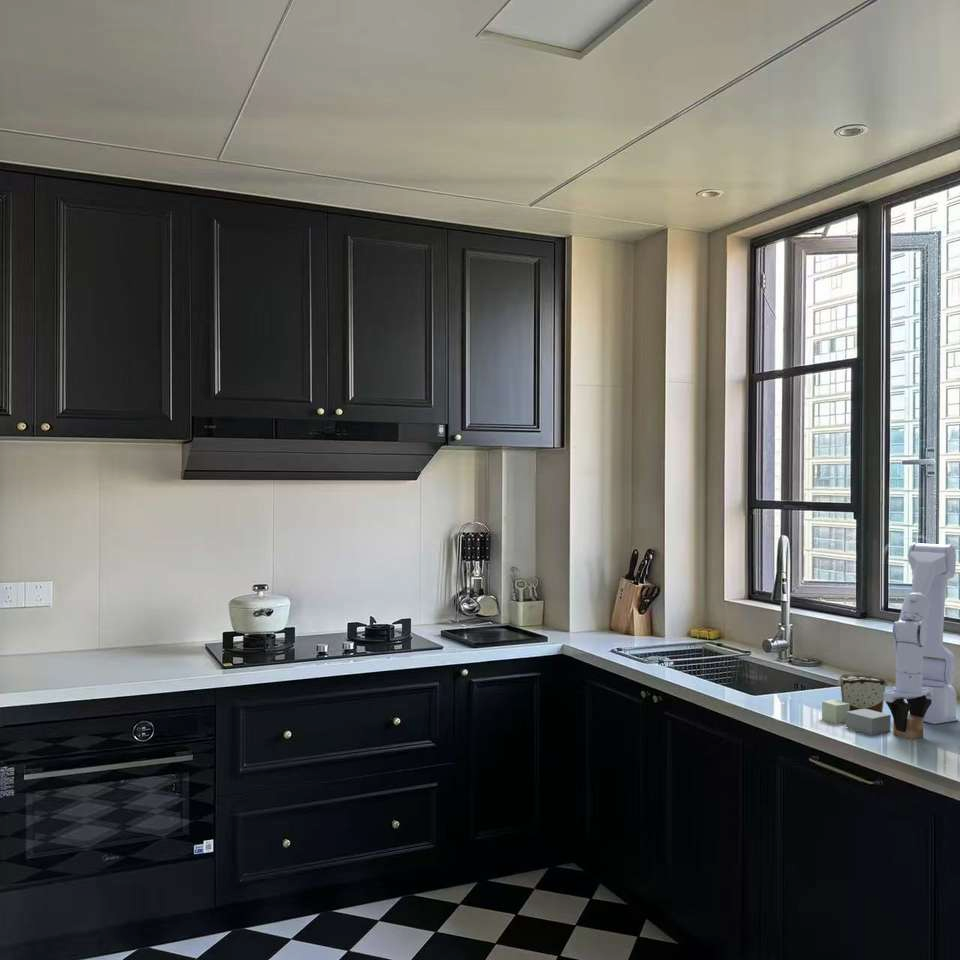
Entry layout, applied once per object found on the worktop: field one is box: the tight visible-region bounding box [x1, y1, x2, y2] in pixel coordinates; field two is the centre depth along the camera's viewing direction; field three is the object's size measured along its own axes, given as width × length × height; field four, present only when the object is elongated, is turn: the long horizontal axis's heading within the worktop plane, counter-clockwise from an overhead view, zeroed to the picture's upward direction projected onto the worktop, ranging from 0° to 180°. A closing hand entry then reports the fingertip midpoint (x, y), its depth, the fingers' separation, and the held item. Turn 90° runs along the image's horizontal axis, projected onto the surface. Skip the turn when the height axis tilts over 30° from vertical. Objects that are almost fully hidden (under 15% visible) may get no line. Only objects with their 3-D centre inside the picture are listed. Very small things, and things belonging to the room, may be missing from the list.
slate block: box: [845, 708, 892, 735], centre depth 218 cm, size 7×7×4 cm
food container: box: [837, 672, 889, 713], centre depth 232 cm, size 12×6×10 cm, turn 92°
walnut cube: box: [892, 713, 924, 740], centre depth 213 cm, size 4×4×4 cm
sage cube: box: [821, 699, 850, 724], centre depth 226 cm, size 4×4×4 cm
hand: (908, 729), depth 213 cm, fingers closed on walnut cube, 4 cm apart
